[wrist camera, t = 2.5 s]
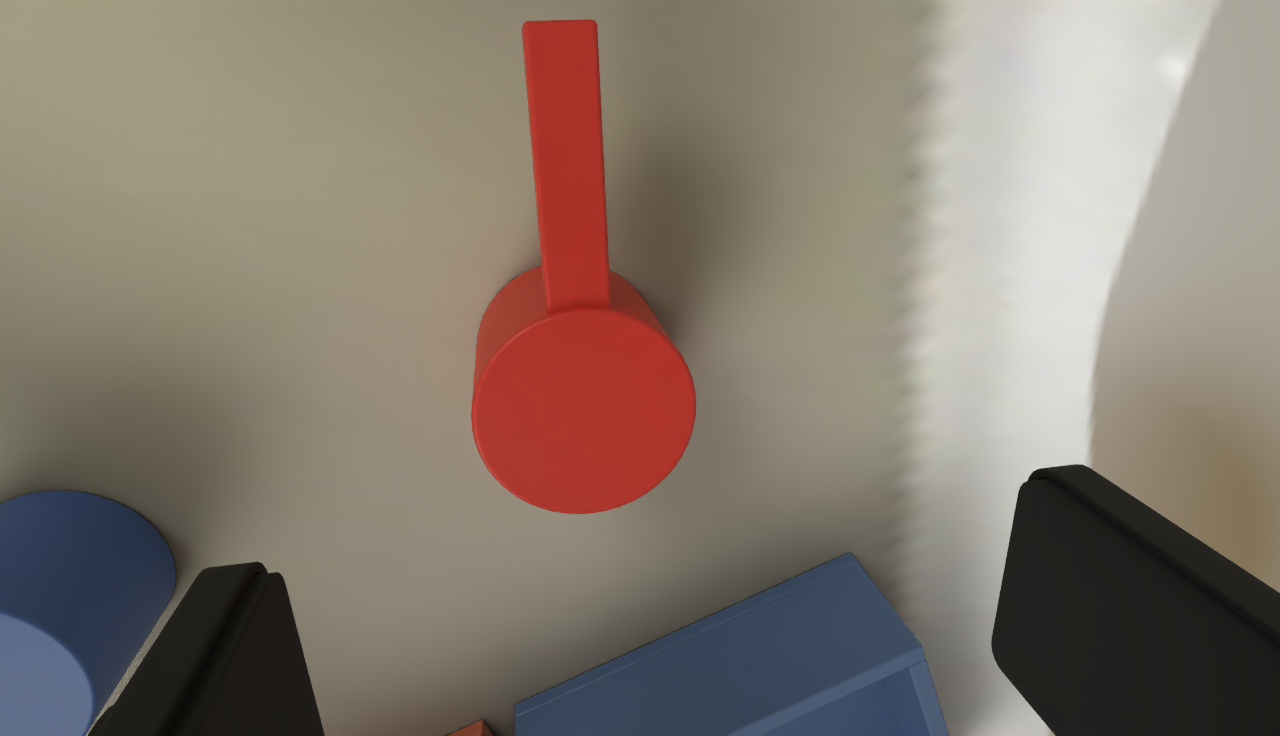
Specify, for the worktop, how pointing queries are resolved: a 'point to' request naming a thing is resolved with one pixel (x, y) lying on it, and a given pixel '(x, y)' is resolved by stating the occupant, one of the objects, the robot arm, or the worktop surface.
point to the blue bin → (760, 672)
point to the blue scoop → (73, 606)
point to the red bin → (473, 730)
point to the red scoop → (575, 320)
